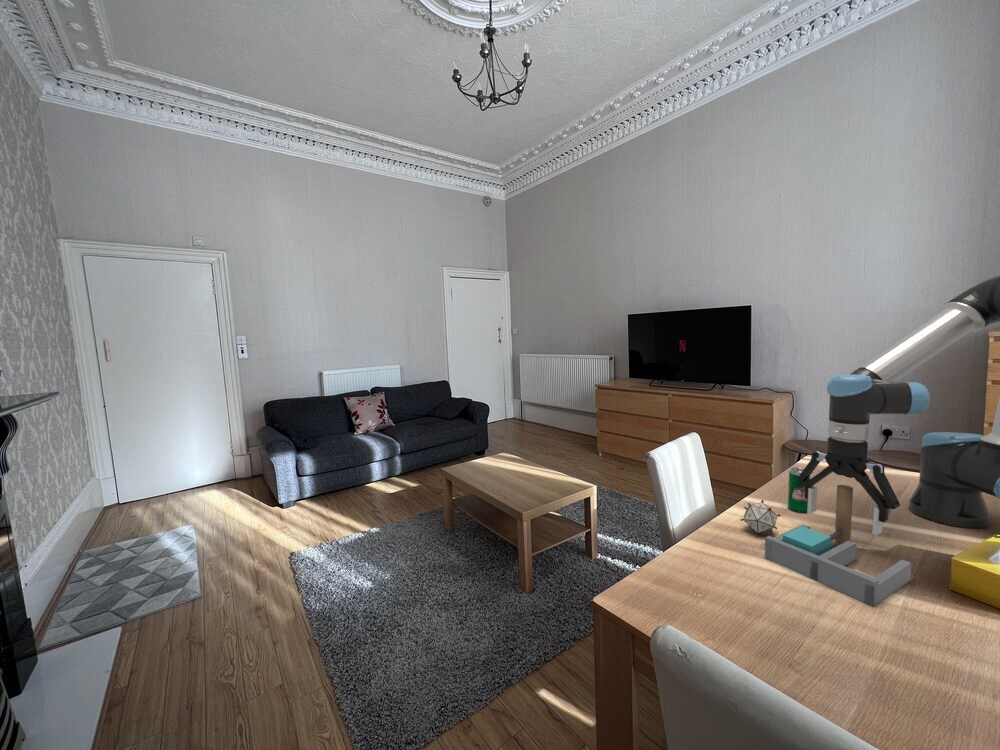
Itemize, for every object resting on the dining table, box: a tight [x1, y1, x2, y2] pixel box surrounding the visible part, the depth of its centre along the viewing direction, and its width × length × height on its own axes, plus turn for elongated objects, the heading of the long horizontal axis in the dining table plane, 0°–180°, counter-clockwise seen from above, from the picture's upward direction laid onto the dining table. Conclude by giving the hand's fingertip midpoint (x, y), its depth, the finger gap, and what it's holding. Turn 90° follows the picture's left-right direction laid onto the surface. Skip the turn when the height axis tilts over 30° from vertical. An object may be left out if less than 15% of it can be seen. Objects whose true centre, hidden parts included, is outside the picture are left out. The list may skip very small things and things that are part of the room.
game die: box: [739, 499, 781, 537], centre depth 110 cm, size 9×8×10 cm
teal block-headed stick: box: [783, 484, 854, 556], centre depth 99 cm, size 22×6×14 cm, turn 117°
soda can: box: [787, 467, 811, 513], centre depth 121 cm, size 5×5×12 cm
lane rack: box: [764, 524, 912, 608], centre depth 93 cm, size 16×20×5 cm
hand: (842, 522), depth 103 cm, fingers open, 13 cm apart
